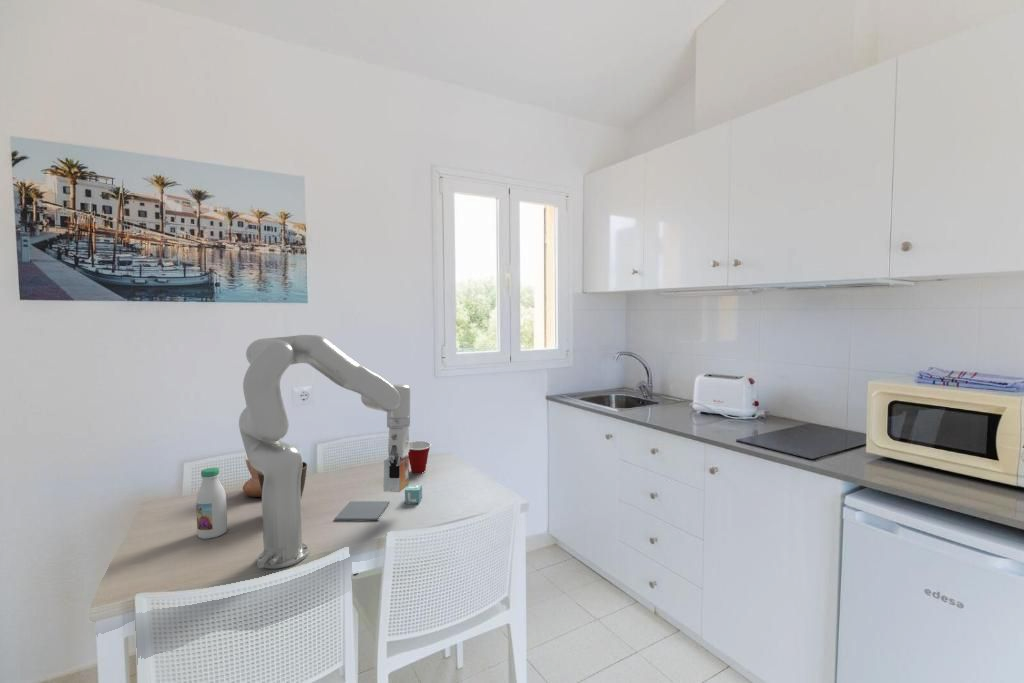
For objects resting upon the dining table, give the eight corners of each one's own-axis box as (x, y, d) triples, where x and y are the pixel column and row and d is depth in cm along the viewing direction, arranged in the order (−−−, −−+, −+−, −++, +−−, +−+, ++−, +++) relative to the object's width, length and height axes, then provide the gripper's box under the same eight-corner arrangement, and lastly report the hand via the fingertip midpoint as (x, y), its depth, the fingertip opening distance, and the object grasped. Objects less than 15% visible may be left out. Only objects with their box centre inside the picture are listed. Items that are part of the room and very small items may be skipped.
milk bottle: (222, 525, 149) (219, 463, 148) (231, 532, 144) (229, 468, 143) (193, 534, 143) (191, 470, 142) (202, 542, 138) (200, 475, 137)
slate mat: (377, 520, 152) (377, 518, 152) (334, 520, 152) (334, 518, 152) (389, 503, 166) (389, 501, 166) (350, 503, 166) (350, 501, 166)
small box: (399, 493, 152) (399, 460, 152) (383, 491, 153) (383, 459, 153) (408, 485, 160) (409, 454, 160) (393, 483, 161) (393, 453, 161)
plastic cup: (414, 477, 192) (413, 449, 192) (401, 471, 200) (400, 443, 200) (436, 471, 200) (436, 444, 199) (423, 465, 207) (422, 439, 207)
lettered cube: (419, 504, 166) (418, 489, 165) (404, 504, 166) (404, 489, 165) (422, 498, 171) (421, 484, 170) (408, 498, 171) (408, 484, 171)
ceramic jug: (292, 494, 175) (291, 456, 174) (248, 504, 166) (247, 464, 165) (279, 482, 189) (278, 447, 188) (238, 491, 179) (237, 454, 179)
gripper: (403, 427, 147) (402, 482, 148) (415, 417, 165) (415, 466, 165) (379, 427, 147) (379, 481, 148) (394, 416, 165) (393, 465, 165)
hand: (398, 473), depth 157 cm, fingers closed on small box, 8 cm apart
